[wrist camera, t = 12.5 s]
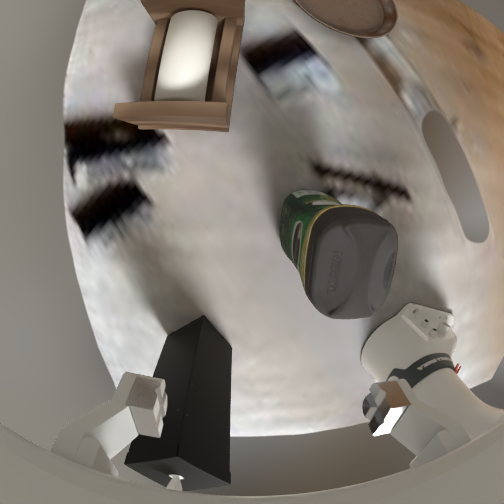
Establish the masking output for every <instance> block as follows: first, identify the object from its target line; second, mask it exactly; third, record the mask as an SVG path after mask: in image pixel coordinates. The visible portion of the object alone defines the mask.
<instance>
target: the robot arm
mask: <svg viewBox="0 0 504 504" xmlns="http://www.w3.org/2000/svg"><path fill="white" fill-rule="evenodd" d="M453 324H454V316H453V315H452V314H451V313H447V312H444V311H440V310H436V309H432V308H429V307H425V306H421V305H417V304H414V303H409V304H407V305H406V306H404V307H403V309H402V310H401V311H400V312H399V313H398V314H397V315H396V316H394V317H393V318H391V319H389V320H388V321H386V322H385V323H383V324H382V325H381V326H380V327H378V328H377V329H376V330H375V331H374V332H373V333H372V335H371V336H370V337H369V339H368V340H367V342H366V344H365V346H364V348H363V351H362V355H361V362H362V365H363V367H364V368H365V369H366V370H367V371H368V372H369V373H370V374H371V375H372V376H373V379H374V380H375V382H376V383H374V384H373V385H372V386H371V387H370V389H369V390H370V392H371V393H370V394H368V395H367V396H366V397H365V399H364V401H363V407H362V409H363V413H364V416H365V417H366V418H367V419H369V420H370V421H369V424H368V425H369V427H370V430H371V432H372V434H373V435H374V436H375V435H380V434H384V433H390V434H391V435H392V436H393V437H394V438H396V439H397V440H398V441H399V442H400V443H402V444H403V445H404V446H405V447H407V448H408V449H409V450H410V451H412V452H413V453H414V454H415V455H416V457H415V458H414V459H413V460H412V461H411V463H410V467H411V468H410V469H408V470H405V471H402V472H399V473H396V474H393V475H389V476H386V477H383V478H379V479H376V480H372V481H368V482H365V483H361V484H356V485H352V486H347V487H342V488H337V489H331V490H325V491H319V492H311V493H303V494H293V495H281V496H280V495H279V496H222V495H208V494H198V493H190V492H183V491H176V490H170V489H164V488H159V487H154V486H149V485H145V484H141V483H137V482H133V481H128V480H125V479H122V478H118V471H117V470H116V468H115V467H114V465H113V464H112V462H111V460H110V459H111V458H112V457H114V456H115V455H116V454H117V453H118V452H119V451H121V450H122V449H123V448H124V447H125V446H126V445H128V444H129V443H130V442H131V441H132V440H134V439H135V438H136V437H137V436H138V434H141V435H146V436H152V437H158V438H160V436H161V432H162V428H163V421H162V418H163V417H164V416H165V415H166V411H167V393H166V392H165V391H164V390H165V386H166V385H165V380H164V379H160V378H154V377H149V376H145V375H140V374H134V373H130V372H125V373H124V374H123V376H122V378H121V380H120V383H119V385H118V387H117V389H116V392H115V394H114V396H113V398H112V401H106V402H104V403H103V404H101V405H99V406H97V407H96V408H94V409H92V410H91V411H89V412H87V413H85V414H84V415H82V416H80V417H78V418H77V419H75V420H73V421H71V422H69V423H67V424H65V425H64V426H62V428H61V430H60V432H59V434H58V436H57V438H56V441H55V442H54V444H53V446H52V448H51V451H49V450H47V449H44V448H43V447H41V446H39V445H37V444H35V443H33V442H31V441H29V440H28V439H26V438H24V437H22V436H21V435H19V434H17V433H16V432H14V431H12V430H11V429H9V428H8V427H6V426H4V425H3V424H1V423H0V504H504V409H498V408H494V407H491V406H489V405H487V404H485V403H484V402H482V401H481V400H480V399H478V398H477V397H476V396H475V395H474V394H473V393H472V392H471V390H470V389H469V388H468V387H467V386H466V385H465V384H464V382H463V381H462V380H461V379H460V378H459V377H458V375H457V373H458V372H459V370H460V368H461V366H460V367H459V369H458V366H459V364H457V365H456V367H455V368H454V365H453V362H452V357H453V354H454V352H455V349H456V345H457V337H456V335H455V333H454V332H453V331H452V328H453ZM457 369H458V370H457ZM456 371H457V372H456Z"/></svg>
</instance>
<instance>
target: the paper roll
mask: <svg viewBox="0 0 504 504" xmlns="http://www.w3.org/2000/svg"><path fill="white" fill-rule="evenodd" d="M217 24H218V20H217V18H216V17H215V16H213V15H212V14H210V13H207V12H204V11H198V10H187V11H181V12H178V13H176V14H174V15H173V16H172V17H171V20H170V24H169V27H168V32H167V36H166V40H165V44H164V49H163V54H162V58H161V63H160V69H159V74H158V80H157V85H156V92H155V98H154V101H203V102H205V96H206V89H207V82H208V75H209V69H210V63H211V57H212V51H213V45H214V39H215V34H216V29H217Z"/></svg>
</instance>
